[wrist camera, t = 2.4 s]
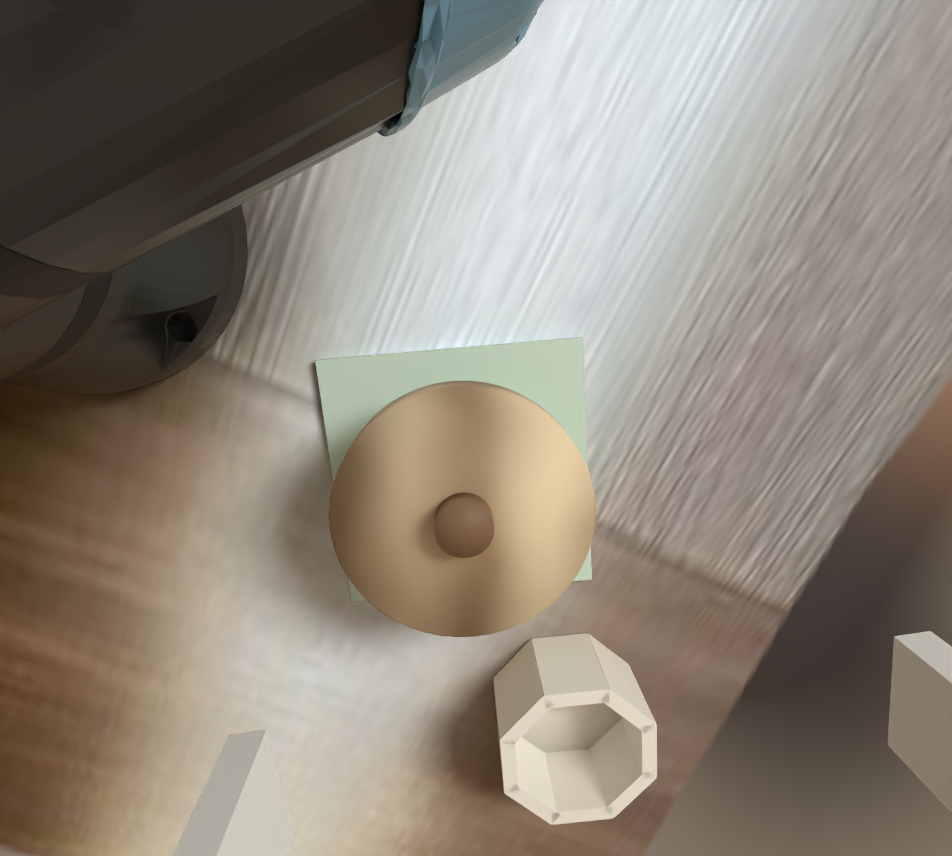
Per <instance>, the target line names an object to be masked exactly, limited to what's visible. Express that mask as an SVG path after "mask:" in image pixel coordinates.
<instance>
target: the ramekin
mask: <svg viewBox="0 0 952 856" xmlns="http://www.w3.org/2000/svg"><path fill="white" fill-rule="evenodd" d="M493 682H494V693H495V705H496V717H497V728H498V738H499V747H500V757H501V766H502V776H503V786H504V793H505V794H506V795H508V796H509V797H511V798H512V799H514V800H515V801H517V802H518V803H520V804H521V805H523V806H524V807H526V808H527V809H529V810H530V811H532V812H533V813H535V814H536V815H538V816H539V817H541V818H542V819H544V820H545V821H547V822H548V823H549V824H552V825H554V824H564V823H573V822H583V821H593V820H602V819H612V818H614V817H615V816H617V815H618V814H619V813H620V812H621V811H622V810H623V809H624V808H625V807H626V806H627V805H628V804H629V803H630V802H632V801H633V800H634V799H635V798H636V797H637V796H638V795H639V794H640V793H641V792H642V791H643V790H644V789H645V788H647V787H648V786H649V785H650V784H651V783H652V782H653V781H654V780H655V779H656V777H657V725H656V722H655V720H654V718H653V716H652V714H651V712H650V709H649V707H648V705H647V703H646V701H645V699H644V696H643V694H642V692H641V690H640V688H639V686H638V684H637V681H636V679H635V677H634V675H633V673H632V671H631V668H630V666H629V664H628V663H626V662H625V661H624V660H622V659H621V658H620V657H618V656H617V655H616V654H614V653H613V652H612V651H611V650H609V649H608V648H607V647H605V646H604V645H603V644H601V643H600V642H599V641H597V640H596V639H595V638H594V637H592V636H591V635H590V634H587V633H586V634H575V635H565V636H554V637H544V638H534V639H530V640H529V641H528V642H527V643H526V644H525V645H524V646H523V647H522V648H521V649H520V650H519V652H518V653H517V654H516V655H515V656H514V657H513V658H512V659H511V660H510V661H509V662H508V663H507V664H506V665H505V666H504V667H503V668H502V669H501V670H500V671H499V672H498V673H497V674H496V675H495V676H494V678H493Z"/></svg>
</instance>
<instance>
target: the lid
mask: <svg viewBox="0 0 952 856" xmlns="http://www.w3.org/2000/svg"><path fill="white" fill-rule="evenodd" d="M595 517H596V504H595V494H594V488H593V484H592V480H591V476H590V473H589V471H588V468H587V466H586V464H585V461H584V459H583V457H582V456H581V454H580V452H579V450H578V449H577V447H576V445H575V444H574V443H573V441H572V440H571V439H570V437H569V436H568V435H567V433H566V432H565V431H564V429H563V428H562V427H561V426H560V424H559V423H558V422H557V421H556V420H555V419H554V418H553V417H552V416H551V415H550V414H549V413H548V412H547V411H546V410H545V409H543V408H542V407H541V406H539V405H538V404H537V403H535V402H534V401H533V400H531V399H529V398H527V397H525V396H523V395H522V394H520V393H518V392H515V391H513V390H510V389H508V388H505V387H503V386H499V385H495V384H490V383H486V382H478V381H448V382H441V383H435V384H431V385H428V386H424V387H421V388H418V389H415V390H413V391H411V392H409V393H406V394H404V395H402V396H400V397H399V398H397V399H395V400H394V401H392V402H390V403H389V404H387V405H386V406H385V407H384V408H382V409H381V410H380V411H379V412H377V413H376V414H375V415H374V416H373V417H372V418H371V419H370V420H369V421H368V423H367V424H366V425H365V426H364V427H363V428H362V430H361V431H360V433H359V434H358V435H357V437H356V438H355V440H354V441H353V443H352V444H351V446H350V448H349V449H348V451H347V453H346V455H345V457H344V459H343V460H342V462H341V464H340V466H339V469H338V471H337V474H336V477H335V480H334V483H333V488H332V493H331V497H330V511H329V519H330V531H331V536H332V540H333V545H334V549H335V551H336V554H337V556H338V559H339V562H340V564H341V566H342V568H343V569H344V571H345V573H346V575H347V577H348V578H349V580H350V581H351V582H352V584H353V585H354V586H355V588H356V589H357V590H358V591H359V592H360V593H361V595H362V596H363V597H364V598H365V599H366V600H367V601H368V602H369V603H371V604H372V605H373V606H374V607H376V608H377V609H378V610H379V611H380V612H382V613H384V614H385V615H387V616H388V617H390V618H392V619H393V620H395V621H397V622H399V623H401V624H403V625H406V626H408V627H410V628H413V629H416V630H419V631H422V632H425V633H430V634H435V635H441V636H452V637H472V636H480V635H487V634H492V633H496V632H500V631H503V630H507V629H509V628H512V627H514V626H517V625H519V624H522V623H524V622H525V621H527V620H529V619H531V618H533V617H534V616H536V615H538V614H539V613H540V612H542V611H543V610H545V609H546V608H547V607H549V606H550V605H551V604H552V603H553V602H554V601H555V600H557V599H558V598H559V597H560V596H561V595H562V594H563V593H564V591H565V590H566V589H567V588H568V587H569V585H570V584H571V583H572V582H573V580H574V579H575V577H576V576H577V574H578V572H579V571H580V569H581V567H582V565H583V563H584V561H585V559H586V557H587V555H588V552H589V549H590V545H591V542H592V539H593V533H594V528H595Z"/></svg>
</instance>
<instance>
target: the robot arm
mask: <svg viewBox="0 0 952 856" xmlns="http://www.w3.org/2000/svg"><path fill="white" fill-rule="evenodd" d="M543 1H544V0H0V381H1V382H6V383H12V384H17V385H22V386H27V387H33V388H38V389H43V390H48V391H54V392H60V393H68V394H85V395H90V394H107V393H115V392H121V391H126V390H130V389H133V388H137V387H140V386H143V385H146V384H149V383H152V382H155V381H158V380H161V379H164V378H166V377H169V376H171V375H173V374H175V373H177V372H179V371H181V370H182V369H184V368H186V367H187V366H189V365H190V364H192V363H193V362H195V361H196V360H197V359H198V358H200V357H201V356H202V355H203V354H204V353H205V352H206V351H207V350H208V349H209V348H210V347H211V346H212V345H213V344H214V343H215V342H216V341H217V339H218V338H219V337H220V335H221V334H222V333H223V331H224V330H225V328H226V326H227V325H228V323H229V322H230V320H231V318H232V316H233V314H234V312H235V309H236V307H237V304H238V302H239V299H240V296H241V293H242V289H243V285H244V280H245V274H246V266H247V234H246V227H245V221H244V216H243V211H242V207H241V204H242V203H244V202H246V201H248V200H250V199H252V198H254V197H255V196H257V195H259V194H261V193H263V192H265V191H267V190H269V189H270V188H272V187H274V186H276V185H278V184H280V183H282V182H284V181H285V180H287V179H289V178H291V177H293V176H295V175H297V174H299V173H301V172H302V171H304V170H306V169H308V168H310V167H312V166H314V165H316V164H317V163H319V162H321V161H323V160H325V159H327V158H329V157H331V156H333V155H334V154H336V153H338V152H340V151H342V150H344V149H346V148H348V147H349V146H351V145H353V144H355V143H357V142H359V141H361V140H363V139H364V138H366V137H368V136H370V135H372V134H374V133H376V132H378V133H379V134H380V135H382V136H389V135H392V134H395V133H397V132H399V131H400V130H402V129H404V128H405V127H406V126H408V125H409V124H410V122H411V121H412V120H413V119H414V118H415V116H416V115H417V114H418V112H419V111H420V109H421V108H422V107H424V106H425V105H427V104H429V103H430V102H432V101H434V100H435V99H437V98H439V97H440V96H442V95H444V94H445V93H447V92H449V91H451V90H452V89H454V88H456V87H457V86H459V85H461V84H462V83H464V82H466V81H467V80H469V79H471V78H472V77H474V76H476V75H477V74H479V73H481V72H482V71H484V70H486V69H488V68H489V67H491V66H492V65H494V64H495V63H497V62H498V61H500V60H501V59H503V58H504V57H505V56H506V55H507V54H508V53H509V52H510V51H511V50H512V49H513V48H514V47H515V46H517V45H518V44H519V42H520V41H521V40H522V38H523V37H524V36H525V34H526V32H527V30H528V28H529V26H530V24H531V22H532V19H533V17H534V16H535V15H536V13H537V10H538V8H539V7H540V5H541V4H542V3H543ZM888 746H890V748H891V749H892V750H893V751H894V752H895V753H896V754H897V755H898V756H899V757H900V758H901V759H902V761H903V762H904V763H905V764H906V765H907V766H908V767H909V768H910V769H911V770H912V771H913V772H914V773H915V774H916V776H917V777H918V778H919V779H921V781H922V782H923V783H924V784H925V785H926V786H927V787H928V788H929V789H930V791H931V792H932V793H933V794H934V795H935V796H936V797H937V798H938V799H939V800H940V801H941V802H942V803H943V804H944V805H945V806H946V808H947V809H948V810H949V811H950V812H951V813H952V647H951V646H950V645H948V644H947V643H946V642H944V641H943V640H942V639H940V638H939V637H938V636H936V635H935V634H933V633H932V632H931V631H928V632H922V633H915V634H908V635H902V636H895V637H894V650H893V665H892V682H891V699H890V715H889V732H888ZM294 836H295V832H294V828H293V824H292V821H291V817H290V814H289V810H288V806H287V803H286V799H285V795H284V792H283V788H282V785H281V781H280V777H279V774H278V770H277V766H276V763H275V759H274V756H273V752H272V748H271V745H270V741H269V737H268V734H267V730H261V731H254V732H247V733H241V734H234V735H229V737H228V739H227V741H226V743H225V745H224V747H223V749H222V752H221V754H220V756H219V758H218V760H217V762H216V764H215V766H214V769H213V771H212V773H211V775H210V777H209V779H208V781H207V783H206V785H205V788H204V790H203V792H202V794H201V796H200V798H199V800H198V802H197V805H196V807H195V809H194V811H193V813H192V815H191V817H190V819H189V821H188V824H187V826H186V828H185V830H184V832H183V834H182V836H181V838H180V841H179V843H178V845H177V847H176V849H175V851H174V853H173V855H172V856H289V855H290V851H291V847H292V844H293V840H294Z"/></svg>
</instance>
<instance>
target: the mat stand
mask: <svg viewBox="0 0 952 856" xmlns="http://www.w3.org/2000/svg"><path fill="white" fill-rule="evenodd" d="M315 363H316V370H317V377H318V383H319V390H320V397H321V403H322V410H323V417H324V423H325V430H326V437H327V444H328V450H329V457H330V464H331V470H332V477H333V483H334V480H335V477H336V474H337V471H338V469H339V466H340V464H341V462H342V460H343V459H344V457H345V455H346V453H347V451H348V449H349V448H350V446H351V444H352V443H353V441H354V440H355V438H356V437H357V435H358V434H359V433H360V431H361V430H362V428H363V427H364V426H365V425H366V424H367V423H368V421H369V420H370V419H371V418H372V417H373V416H374V415H375V414H376V413H377V412H379V411H380V410H381V409H382V408H384V407H385V406H386V405H387V404H389V403H390V402H392V401H394V400H395V399H397V398H399V397H400V396H402V395H404V394H406V393H409V392H411V391H413V390H415V389H418V388H421V387H424V386H428V385H431V384H435V383H441V382H448V381H478V382H486V383H490V384H495V385H499V386H503V387H505V388H508V389H510V390H513V391H515V392H518V393H520V394H522V395H523V396H525V397H527V398H529V399H531V400H533V401H534V402H535V403H537V404H538V405H539V406H541V407H542V408H543V409H545V410H546V411H547V412H548V413H549V414H550V415H551V416H552V417H553V418H554V419H555V420H556V421H557V422H558V423H559V424H560V426H561V427H562V428H563V429H564V431H565V432H566V433H567V435H568V436H569V437H570V439H571V440H572V441H573V443H574V444H575V445H576V447H577V449H578V450H579V452H580V454H581V456H582V457H583V459H584V461H585V464H586V466H587V468H588V457H587V428H586V400H585V371H584V343H583V338H582V337H578V338H566V339H554V340H543V341H531V342H519V343H508V344H496V345H484V346H473V347H461V348H449V349H438V350H426V351H414V352H403V353H391V354H379V355H368V356H356V357H344V358H333V359H321V360H316V361H315ZM347 578H348V577H347ZM591 579H592V570H591V545H590V549H589V552H588V555H587V557H586V559H585V561H584V563H583V565H582V567H581V569H580V571H579V572H578V574H577V576H576V577H575V579H574V580H573V581H580V580H591ZM348 584H349V591H350V598H351V602H358V601H367V600H366V599H365V598H364V597H363V596H362V595H361V593H360V592H359V591H358V590H357V589H356V588H355V586H354V585H353V584H352V582H351V581H350V580H349V578H348Z"/></svg>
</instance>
